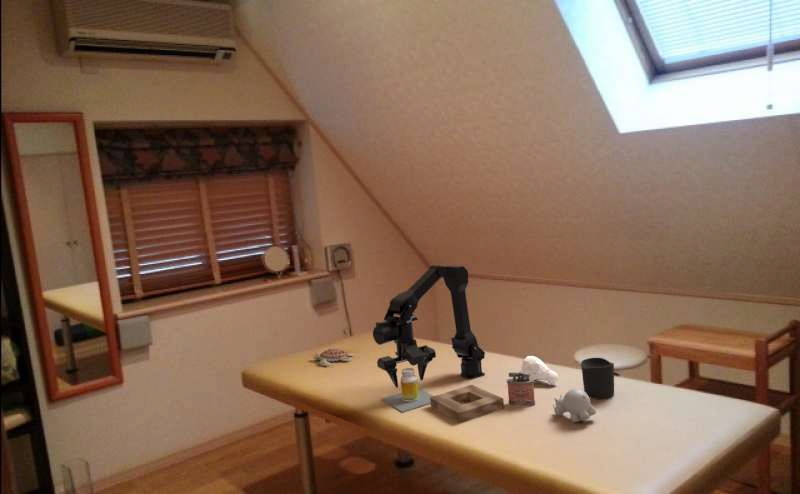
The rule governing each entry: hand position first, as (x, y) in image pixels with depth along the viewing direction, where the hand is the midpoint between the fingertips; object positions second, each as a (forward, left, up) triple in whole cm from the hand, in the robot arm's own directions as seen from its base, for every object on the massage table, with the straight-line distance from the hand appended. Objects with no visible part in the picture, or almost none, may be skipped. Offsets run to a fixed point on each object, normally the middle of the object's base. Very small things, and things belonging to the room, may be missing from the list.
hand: (409, 383), depth 192 cm
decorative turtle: (+2, -60, -6) cm, 60 cm away
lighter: (-24, +26, -6) cm, 36 cm away
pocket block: (-10, +17, -6) cm, 20 cm away
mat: (0, 0, -6) cm, 6 cm away
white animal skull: (-40, +17, -6) cm, 44 cm away
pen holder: (-46, +36, -6) cm, 59 cm away
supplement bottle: (0, 0, -5) cm, 5 cm away
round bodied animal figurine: (-28, +43, -6) cm, 52 cm away
